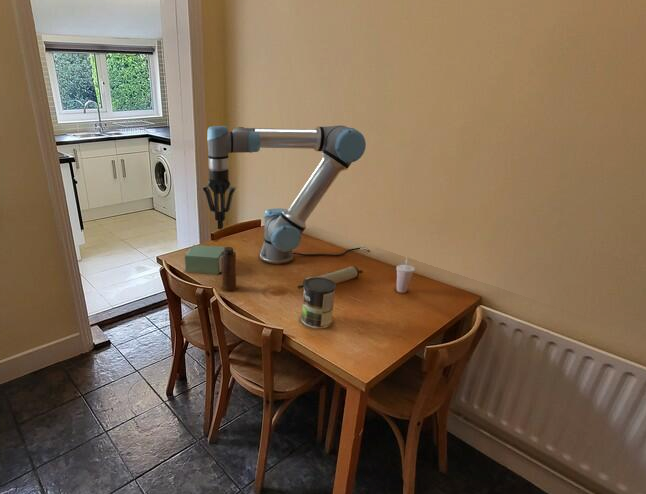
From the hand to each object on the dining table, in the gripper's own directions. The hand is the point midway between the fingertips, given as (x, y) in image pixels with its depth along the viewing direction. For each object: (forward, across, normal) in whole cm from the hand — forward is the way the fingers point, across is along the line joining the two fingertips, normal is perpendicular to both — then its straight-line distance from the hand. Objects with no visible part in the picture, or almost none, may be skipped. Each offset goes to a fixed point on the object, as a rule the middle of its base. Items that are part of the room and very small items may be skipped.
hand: (220, 227), depth 166 cm
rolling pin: (+21, -46, +1) cm, 50 cm away
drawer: (+20, +5, -5) cm, 21 cm away
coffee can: (+21, -42, +30) cm, 55 cm away
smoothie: (+21, -72, +1) cm, 75 cm away
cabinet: (+20, +8, -5) cm, 23 cm away
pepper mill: (+20, -6, +13) cm, 25 cm away
